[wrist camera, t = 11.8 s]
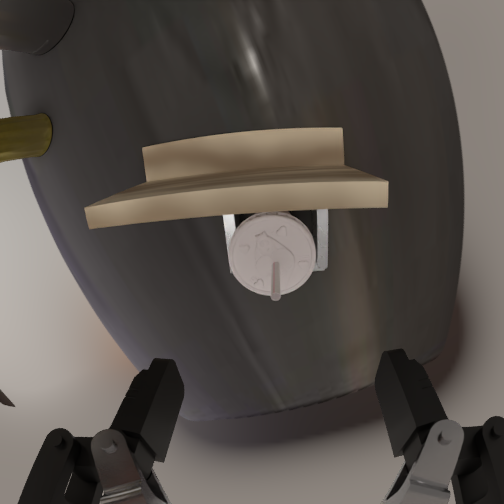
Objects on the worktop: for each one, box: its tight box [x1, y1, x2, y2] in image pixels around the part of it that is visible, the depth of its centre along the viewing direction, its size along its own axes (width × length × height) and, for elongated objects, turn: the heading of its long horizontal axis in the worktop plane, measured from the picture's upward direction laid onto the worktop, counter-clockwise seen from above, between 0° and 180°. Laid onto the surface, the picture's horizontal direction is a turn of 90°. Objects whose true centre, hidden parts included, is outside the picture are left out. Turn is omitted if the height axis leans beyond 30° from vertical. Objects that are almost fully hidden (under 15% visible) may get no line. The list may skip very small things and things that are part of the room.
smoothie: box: [228, 211, 316, 301], centre depth 22 cm, size 6×6×14 cm
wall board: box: [85, 128, 388, 229], centre depth 21 cm, size 5×20×12 cm, turn 95°
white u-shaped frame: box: [223, 209, 328, 273], centre depth 27 cm, size 9×10×4 cm
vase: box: [0, 113, 52, 163], centre depth 19 cm, size 6×6×14 cm
